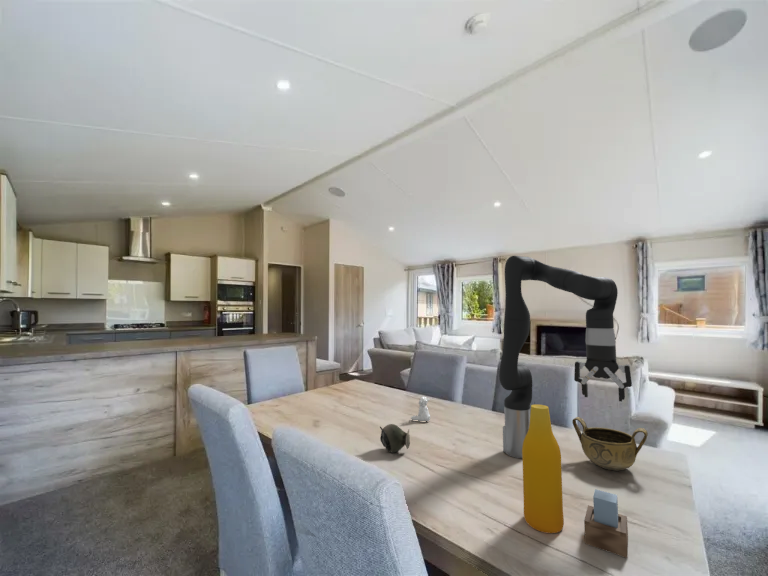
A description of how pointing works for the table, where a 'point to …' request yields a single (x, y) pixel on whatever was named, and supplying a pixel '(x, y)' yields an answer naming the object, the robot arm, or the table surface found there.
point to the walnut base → (606, 534)
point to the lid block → (605, 508)
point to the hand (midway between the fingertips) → (602, 398)
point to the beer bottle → (542, 474)
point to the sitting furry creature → (422, 410)
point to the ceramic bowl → (609, 446)
